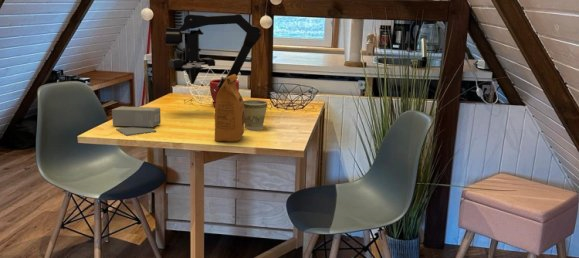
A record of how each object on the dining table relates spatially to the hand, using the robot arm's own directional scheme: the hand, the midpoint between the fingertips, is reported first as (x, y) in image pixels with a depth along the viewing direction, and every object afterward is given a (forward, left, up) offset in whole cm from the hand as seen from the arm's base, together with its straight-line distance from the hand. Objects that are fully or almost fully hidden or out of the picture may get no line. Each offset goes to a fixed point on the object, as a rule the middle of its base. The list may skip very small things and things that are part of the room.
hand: (192, 83), depth 214 cm
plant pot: (-4, -23, -13) cm, 27 cm away
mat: (+5, +34, -13) cm, 36 cm away
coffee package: (-30, +30, -13) cm, 44 cm away
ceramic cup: (-32, +10, -13) cm, 36 cm away
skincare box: (+1, +25, -10) cm, 27 cm away
